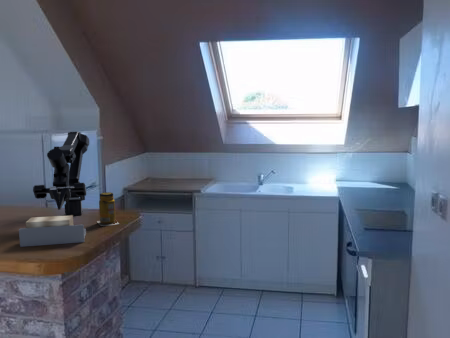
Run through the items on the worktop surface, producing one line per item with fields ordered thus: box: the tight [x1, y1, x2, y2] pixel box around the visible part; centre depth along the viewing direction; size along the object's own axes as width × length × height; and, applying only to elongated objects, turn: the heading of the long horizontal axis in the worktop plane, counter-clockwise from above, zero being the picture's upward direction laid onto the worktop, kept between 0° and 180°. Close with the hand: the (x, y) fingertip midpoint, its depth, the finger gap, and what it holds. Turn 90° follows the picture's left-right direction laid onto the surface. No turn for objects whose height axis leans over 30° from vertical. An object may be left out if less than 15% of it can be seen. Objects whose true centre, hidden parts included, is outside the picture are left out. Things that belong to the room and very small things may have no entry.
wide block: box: [25, 215, 75, 228], centre depth 153 cm, size 14×7×8 cm, turn 99°
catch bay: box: [18, 223, 87, 248], centre depth 154 cm, size 11×20×6 cm, turn 102°
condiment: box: [96, 191, 120, 227], centre depth 176 cm, size 7×8×12 cm
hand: (59, 209), depth 165 cm, fingers closed
